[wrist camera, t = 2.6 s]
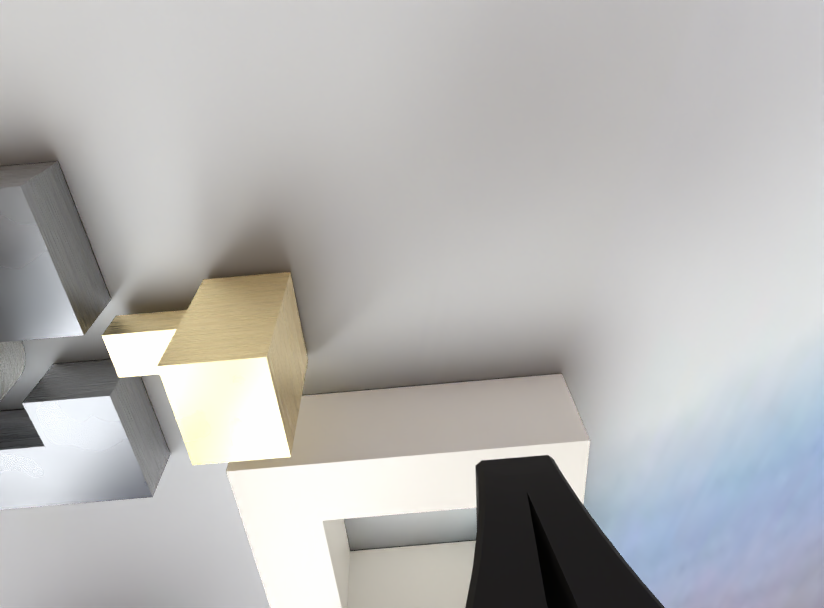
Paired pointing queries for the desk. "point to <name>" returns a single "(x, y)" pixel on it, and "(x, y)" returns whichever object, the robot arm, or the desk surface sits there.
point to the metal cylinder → (10, 365)
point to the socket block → (67, 382)
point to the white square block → (393, 485)
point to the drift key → (223, 365)
